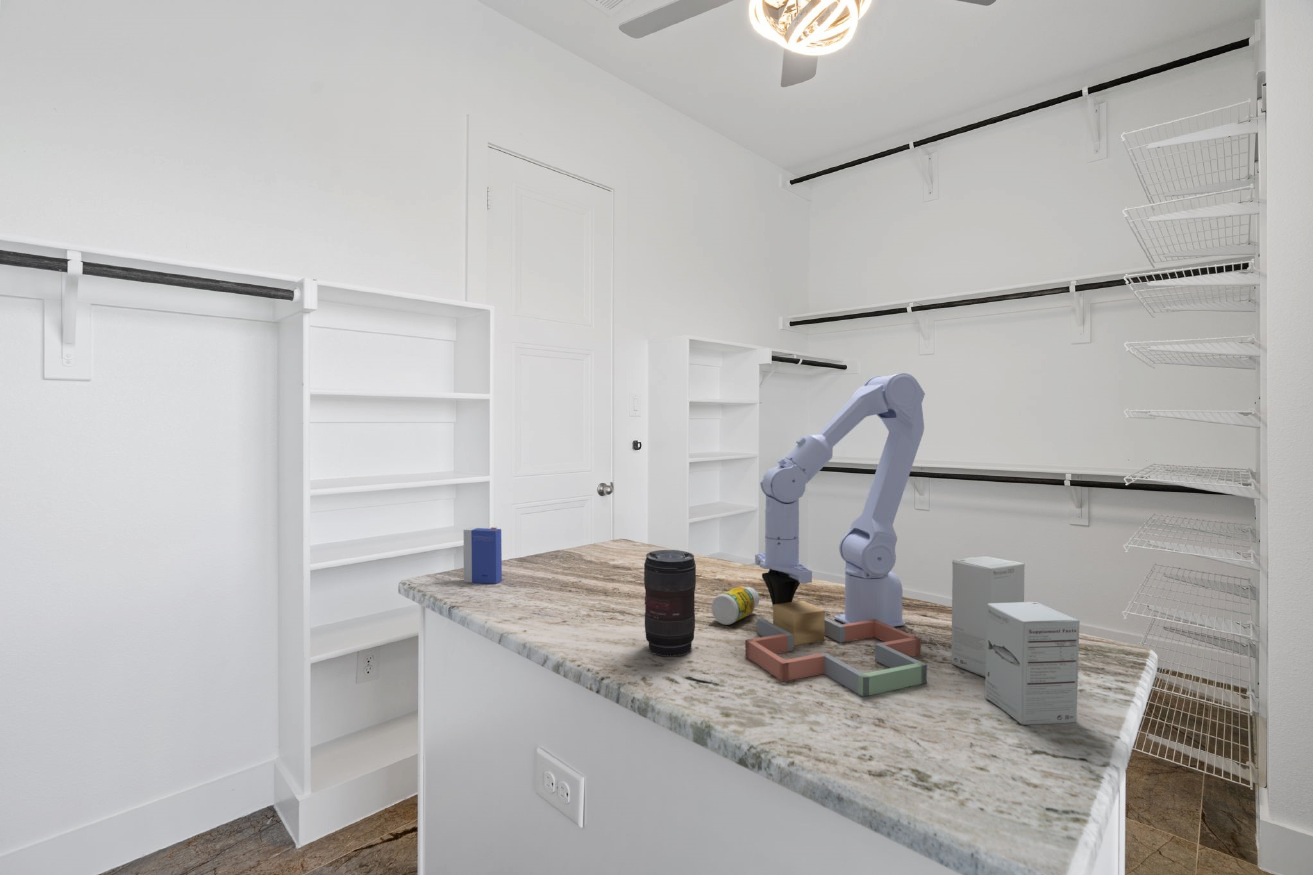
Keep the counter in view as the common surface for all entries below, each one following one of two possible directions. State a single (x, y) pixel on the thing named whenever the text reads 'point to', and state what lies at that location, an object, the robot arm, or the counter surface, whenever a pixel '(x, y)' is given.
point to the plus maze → (887, 653)
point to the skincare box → (979, 604)
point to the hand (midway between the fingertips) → (781, 614)
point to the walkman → (482, 555)
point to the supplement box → (1032, 662)
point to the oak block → (800, 621)
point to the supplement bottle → (734, 604)
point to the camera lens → (669, 601)
